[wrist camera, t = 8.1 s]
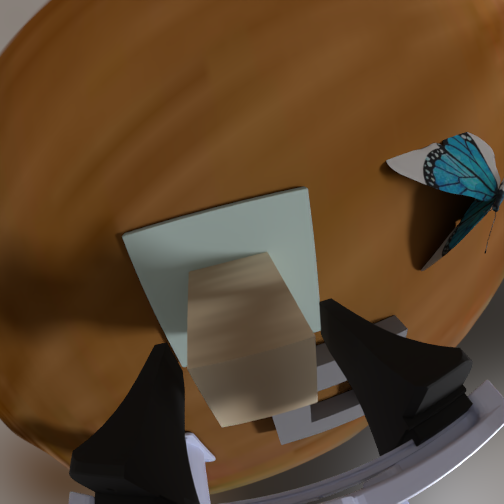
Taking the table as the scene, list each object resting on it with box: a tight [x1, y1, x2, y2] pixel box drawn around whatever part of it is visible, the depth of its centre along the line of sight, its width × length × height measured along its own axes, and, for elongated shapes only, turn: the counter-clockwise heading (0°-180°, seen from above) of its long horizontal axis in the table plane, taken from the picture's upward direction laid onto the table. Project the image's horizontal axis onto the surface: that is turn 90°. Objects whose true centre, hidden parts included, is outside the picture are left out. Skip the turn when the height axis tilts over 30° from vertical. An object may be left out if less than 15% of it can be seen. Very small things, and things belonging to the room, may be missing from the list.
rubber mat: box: [122, 187, 321, 367], centre depth 16 cm, size 10×10×1 cm
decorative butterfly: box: [386, 132, 504, 271], centre depth 15 cm, size 10×6×10 cm
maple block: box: [187, 252, 318, 427], centre depth 13 cm, size 4×4×7 cm
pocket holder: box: [272, 315, 408, 445], centre depth 21 cm, size 12×12×2 cm
